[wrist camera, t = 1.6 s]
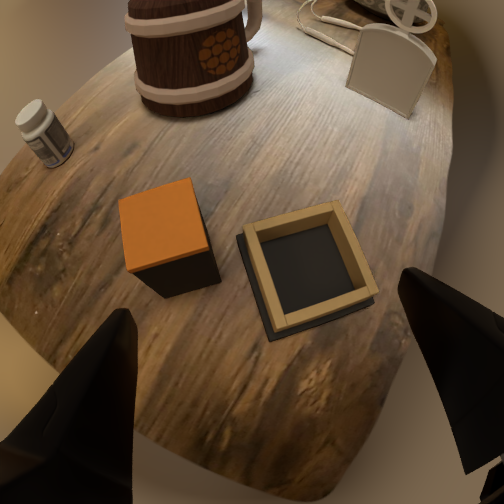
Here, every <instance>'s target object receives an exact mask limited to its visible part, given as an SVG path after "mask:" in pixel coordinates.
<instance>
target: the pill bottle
mask: <svg viewBox="0 0 504 504" xmlns="http://www.w3.org/2000/svg"><path fill="white" fill-rule="evenodd" d="M15 122H16V125H17V127H18V128H19V129H20V131H21V132H22V137H23V139H24V141H25V142H26V143H27V144H28V145H29V147H30V148H31V149H32V150H33V151H34V152H35V154H36V155H37V156H38V157H39V158H40V159H41V161H42V162H43V163H44V164H45V165H46V166H47V167H49V168H53V167H57V166H59V165H60V164H62V163H63V162H64V161H65V160H66V159H67V158H68V157H69V156H70V154H71V152H72V150H73V146H74V144H73V141H72V139H71V138H70V136H69V135H68V133H67V132H66V131H65V129H64V128H63V126H62V125H61V123H60V122H59V120H58V119H57V117H56V115H55V114H54V112H53V111H52V110H50V109H47V108H46V106H45V104H44V103H43V101H42V100H40V99H37V100H34V101H32V102H30V103H29V104H28V105H26V106H25V107H24V108H23V109H22V110H21V112H20V113H19V114H18V116H17V118H16V121H15Z"/></svg>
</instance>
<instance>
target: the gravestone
mask: <svg viewBox="0 0 504 504" xmlns="http://www.w3.org/2000/svg"><path fill="white" fill-rule="evenodd" d="M425 1H426V2H427V3H428V5H429V7H430V9H431V13H432V15H430V14H428V13H426V12H424V11H422V10H420V9H418V6H419V3H420V0H408V2H407V3H405V2H403V1H401V0H385V8H386V12H387V14H388V16H389V17H390V19H391V20H392V21H393V22H394V23H395V24H396V25H397V26H398V27H399V28H397V27H394V26H391V25H387V24H381V23H374V24H368V25H365V26H364V27H363V28H362V29H361V30H360V32H359V36H358V40H357V44H356V48H355V52H354V56H353V59H352V63H351V67H350V71H349V74H348V78H347V82H346V86H345V87H347V88H349V89H351V90H354V91H356V92H358V93H360V94H362V95H364V96H366V97H368V98H370V99H372V100H374V101H376V102H378V103H379V104H381V105H383V106H385V107H387V108H389V109H390V110H392V111H394V112H396V113H398V114H399V115H401V116H403V117H405V118H406V119H409V117H410V115H411V113H412V111H413V109H414V108H415V106H416V104H417V102H418V100H419V98H420V96H421V94H422V92H423V90H424V88H425V86H426V84H427V82H428V79H429V77H430V75H431V73H432V71H433V69H434V67H435V64H436V60H437V59H436V57H435V55H434V54H433V52H432V51H431V50H430V49H429V47H428V46H427V45H426V44H425V43H423V42H422V41H421V40H420V39H418V38H417V37H415V36H414V35H412V34H410V32H412V33H424V32H427V31H429V30H430V29H431V28H432V27H433V26H434V24H435V22H436V20H437V10H436V6H435V4H434V2H433V1H432V0H425ZM392 5H393V6H396V7H398V8H400V9H403V10H405V11H404V15H403V18H402V21H401V20H400V19H399V18H398V17H397V16H396V14H395V13H394V11H393V8H392ZM415 16H417V17H419V18H421V19H423V20H425V21H427V22H429V23H428V24H426V25H425V26H421V27H414V26H412V24H413V21H414V18H415Z"/></svg>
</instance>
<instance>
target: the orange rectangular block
mask: <svg viewBox="0 0 504 504" xmlns="http://www.w3.org/2000/svg"><path fill="white" fill-rule="evenodd" d="M119 211H120V221H121V230H122V239H123V247H124V254H125V261H126V268H127V271H128V272H129V273H132V274H134V275H135V276H136V277H137V278H139V279H140V280H141V281H143V282H144V283H145V284H146V285H148V286H149V287H150V288H152V289H153V290H154V291H155V292H157V293H158V294H159V295H161V296H162V297H163V298H169V297H172V296H176V295H179V294H183V293H186V292H190V291H193V290H197V289H200V288H204V287H207V286H210V285H214V284H217V283H221V278H220V275H219V271H218V268H217V264H216V261H215V257H214V254H213V250H212V246H211V243H210V239H209V235H208V232H207V228H206V225H205V223H204V220H203V217H202V214H201V211H200V208H199V205H198V202H197V199H196V195H195V192H194V188H193V184H192V181H191V178H190V177H189V178H186V179H182V180H179V181H176V182H172V183H169V184H166V185H163V186H160V187H156V188H153V189H150V190H147V191H144V192H141V193H138V194H135V195H132V196H129V197H127V198H124V199H121V200H119Z"/></svg>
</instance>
